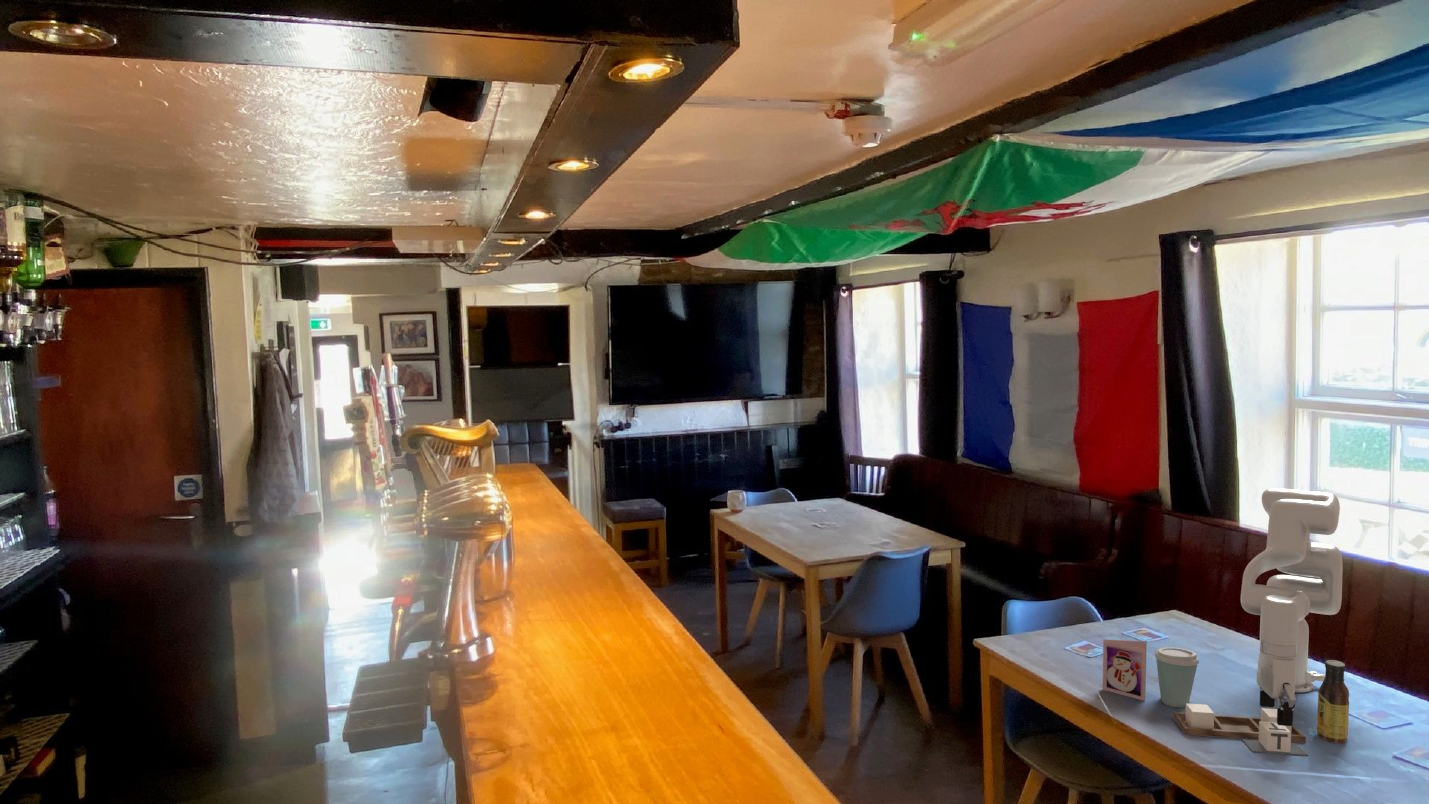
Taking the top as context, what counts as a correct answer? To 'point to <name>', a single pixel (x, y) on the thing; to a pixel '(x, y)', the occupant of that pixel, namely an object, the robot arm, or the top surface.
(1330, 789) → the top surface
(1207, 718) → the blank cube
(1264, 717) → the blank cube
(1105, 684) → the greeting card
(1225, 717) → the organizer
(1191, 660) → the disposable coffee cup
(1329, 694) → the sauce bottle
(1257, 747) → the slate mat
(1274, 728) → the lettered cube
